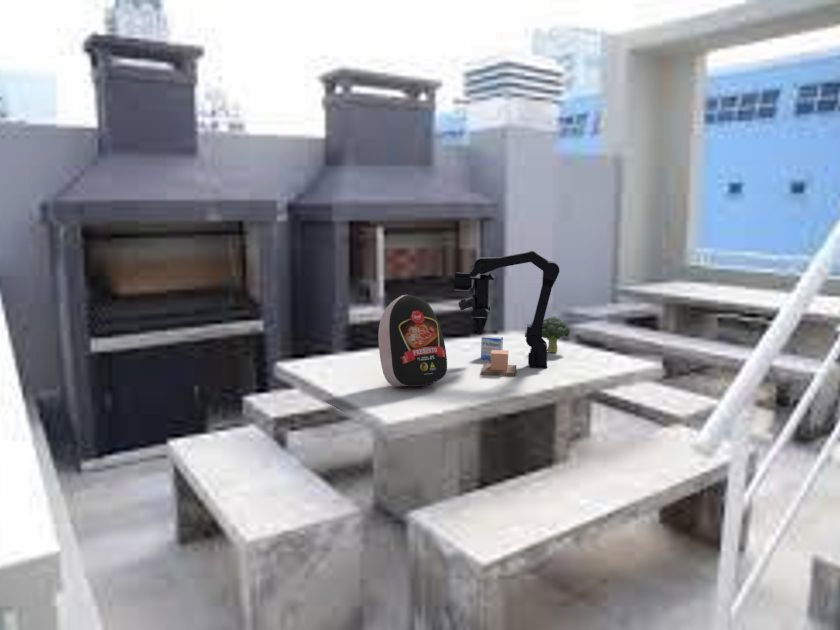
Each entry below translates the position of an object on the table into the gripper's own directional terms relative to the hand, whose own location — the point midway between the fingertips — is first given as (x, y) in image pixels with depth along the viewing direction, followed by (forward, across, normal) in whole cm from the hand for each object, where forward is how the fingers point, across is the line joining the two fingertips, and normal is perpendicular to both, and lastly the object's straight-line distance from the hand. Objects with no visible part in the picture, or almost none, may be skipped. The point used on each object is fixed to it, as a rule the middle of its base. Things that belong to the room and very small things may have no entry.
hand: (480, 332), depth 258 cm
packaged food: (+12, +34, -20) cm, 42 cm away
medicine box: (+12, -9, +4) cm, 16 cm away
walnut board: (+12, +11, +8) cm, 18 cm away
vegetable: (+12, -25, +28) cm, 40 cm away
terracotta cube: (+11, +11, +8) cm, 17 cm away
